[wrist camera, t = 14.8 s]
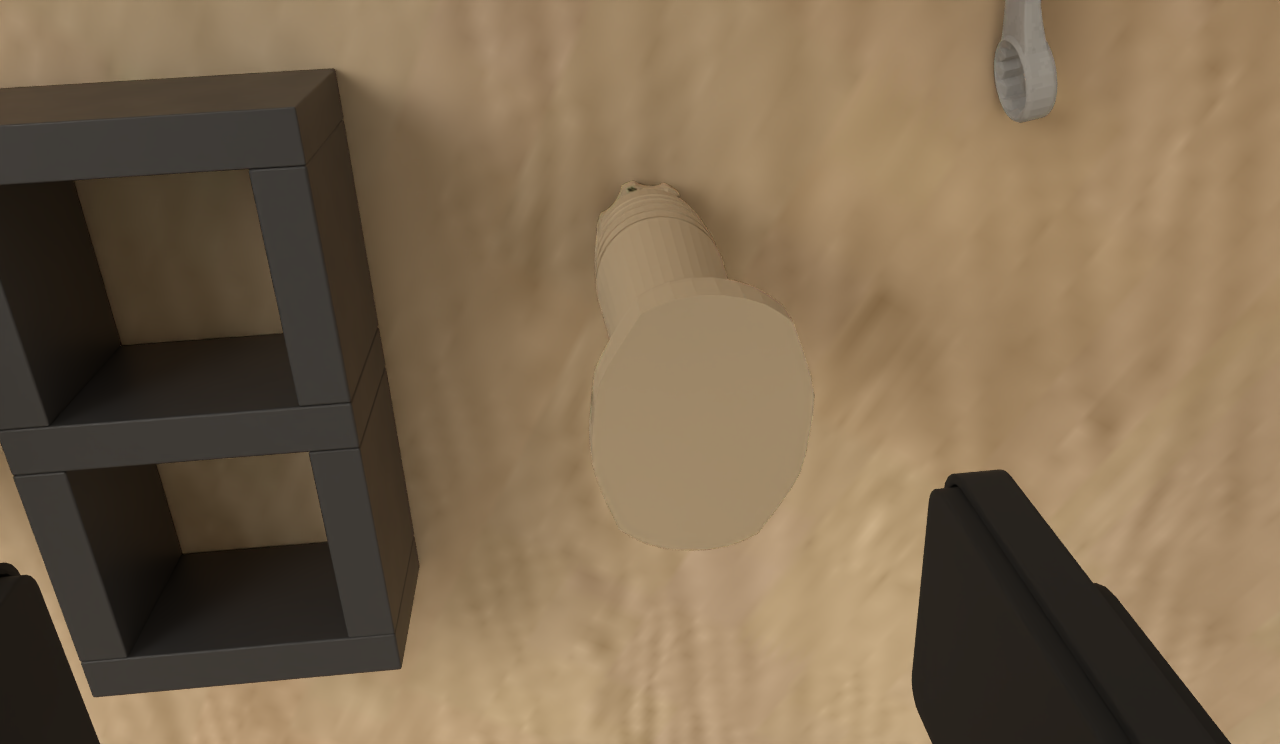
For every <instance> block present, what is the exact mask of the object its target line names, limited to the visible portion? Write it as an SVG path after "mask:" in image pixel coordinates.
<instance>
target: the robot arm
mask: <svg viewBox="0 0 1280 744" xmlns="http://www.w3.org/2000/svg"><path fill="white" fill-rule="evenodd" d="M912 690H913V696H914V700H915V704H916V708H917V710H918V713H919V715H920V717H921V720H922V722H923V724H924V726H925V728H926V731H927V733H928V735H929V737H930V740H931V742H932V744H1231V743H1230V742H1229V740H1228V739H1227V738H1226V737H1225V735H1224V734H1223V733H1222V731H1221V730H1220V729H1219V728H1218V726H1217V725H1216V724H1215V723H1214V721H1213V720H1212V719H1211V717H1210V716H1209V715H1208V714H1207V712H1206V711H1205V710H1204V709H1203V707H1202V706H1201V705H1200V703H1199V702H1198V701H1197V700H1196V698H1195V697H1194V696H1193V695H1192V693H1191V692H1190V691H1189V689H1188V688H1187V687H1186V686H1185V684H1184V683H1183V682H1182V680H1181V679H1180V678H1179V677H1178V675H1177V674H1176V673H1175V672H1174V670H1173V669H1172V668H1171V666H1170V665H1169V664H1168V663H1167V661H1166V660H1165V659H1164V658H1163V656H1162V655H1161V654H1160V652H1159V651H1158V650H1157V649H1156V647H1155V646H1154V645H1153V644H1152V642H1151V641H1150V640H1149V638H1148V637H1147V636H1146V635H1145V633H1144V632H1143V631H1142V630H1141V628H1140V627H1139V626H1138V624H1137V623H1136V622H1135V621H1134V619H1133V618H1132V617H1131V615H1130V614H1129V613H1128V612H1127V610H1126V609H1125V608H1124V607H1123V605H1122V604H1121V603H1120V601H1119V600H1118V599H1117V598H1116V596H1114V595H1113V594H1112V593H1111V592H1110V591H1109V590H1108V589H1107V588H1106V587H1105V586H1102V585H1100V584H1097V583H1093V582H1092V581H1091V580H1090V578H1089V577H1088V576H1087V575H1086V573H1085V572H1084V571H1083V569H1082V568H1081V567H1080V565H1079V564H1078V563H1077V562H1076V560H1075V559H1074V558H1073V556H1072V555H1071V554H1070V552H1069V551H1068V550H1067V549H1066V547H1065V546H1064V545H1063V543H1062V542H1061V541H1060V539H1059V538H1058V537H1057V536H1056V534H1055V533H1054V532H1053V530H1052V529H1051V528H1050V526H1049V525H1048V524H1047V522H1046V521H1045V520H1044V519H1043V517H1042V516H1041V515H1040V513H1039V512H1038V511H1037V509H1036V508H1035V507H1034V506H1033V504H1032V503H1031V502H1030V500H1029V499H1028V498H1027V496H1026V495H1025V494H1024V493H1023V491H1022V490H1021V489H1020V487H1019V486H1018V485H1017V483H1016V482H1015V481H1014V480H1013V478H1012V477H1011V476H1010V475H1009V474H1008V473H1007V472H1006V471H1004V470H990V471H979V472H968V473H958V474H951V475H950V476H949V477H948V478H947V480H946V482H945V487H944V488H941V489H934V490H933V491H932V492H931V495H930V498H929V505H928V516H927V526H926V536H925V546H924V556H923V567H922V577H921V587H920V597H919V608H918V618H917V628H916V638H915V648H914V659H913V669H912ZM0 744H100V743H99V740H98V737H97V735H96V732H95V730H94V727H93V725H92V722H91V719H90V717H89V714H88V712H87V709H86V707H85V704H84V701H83V699H82V696H81V694H80V691H79V689H78V686H77V683H76V681H75V678H74V676H73V673H72V671H71V668H70V665H69V663H68V660H67V658H66V655H65V653H64V650H63V647H62V645H61V642H60V640H59V637H58V635H57V632H56V629H55V627H54V624H53V622H52V619H51V617H50V614H49V611H48V609H47V606H46V604H45V601H44V599H43V596H42V593H41V591H40V588H39V586H38V584H37V582H36V580H35V579H33V578H32V577H31V576H28V575H20V573H19V572H18V570H17V569H16V568H15V567H14V566H13V565H12V564H8V563H0Z"/></svg>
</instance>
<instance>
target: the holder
mask: <svg viewBox="0 0 1280 744" xmlns="http://www.w3.org/2000/svg"><path fill="white" fill-rule="evenodd" d="M342 119H343V112H342V106H341V101H340V95H339V89H338V83H337V77H336V71H335V69H317V70H300V71H283V72H267V73H250V74H234V75H217V76H200V77H184V78H167V79H150V80H134V81H117V82H101V83H84V84H67V85H51V86H34V87H18V88H1V89H0V442H1V445H2V448H3V451H4V453H5V456H6V459H7V462H8V464H9V467H10V470H11V473H12V474H13V475H14V477H13V478H14V481H15V484H16V487H17V489H18V492H19V495H20V498H21V500H22V503H23V506H24V509H25V511H26V514H27V517H28V520H29V522H30V525H31V528H32V531H33V533H34V536H35V539H36V542H37V544H38V547H39V550H40V553H41V555H42V558H43V561H44V564H45V566H46V569H47V572H48V575H49V577H50V580H51V583H52V585H53V588H54V591H55V594H56V596H57V599H58V602H59V605H60V607H61V610H62V613H63V616H64V618H65V621H66V624H67V627H68V629H69V632H70V635H71V638H72V640H73V643H74V646H75V649H76V651H77V654H78V657H79V660H80V661H82V662H81V665H82V667H83V670H84V673H85V676H86V678H87V681H88V684H89V687H90V689H91V692H92V695H93V697H103V696H114V695H125V694H136V693H147V692H158V691H169V690H179V689H190V688H201V687H212V686H223V685H234V684H244V683H255V682H266V681H277V680H288V679H299V678H310V677H320V676H331V675H342V674H353V673H364V672H375V671H385V670H396V669H401V667H402V662H403V657H404V651H405V645H406V640H407V634H408V628H409V623H410V617H411V611H412V606H413V600H414V594H415V589H416V583H417V577H418V572H419V561H418V555H417V549H416V543H415V538H414V531H413V525H412V519H411V513H410V507H409V502H408V496H407V490H406V484H405V478H404V472H403V466H402V460H401V454H400V449H399V443H398V437H397V431H396V425H395V419H394V413H393V407H392V401H391V396H390V390H389V384H388V378H387V372H386V368H385V361H384V355H383V349H382V343H381V337H380V331H379V328H378V320H377V314H376V308H375V302H374V296H373V291H372V285H371V279H370V273H369V267H368V261H367V255H366V249H365V243H364V238H363V232H362V226H361V220H360V214H359V208H358V202H357V196H356V190H355V185H354V179H353V173H352V167H351V161H350V155H349V149H348V143H347V138H346V132H345V126H344V121H343V120H342ZM240 169H249V175H250V180H251V185H252V189H253V194H254V199H255V203H256V208H257V212H258V217H259V222H260V226H261V231H262V236H263V240H264V245H265V250H266V254H267V259H268V264H269V268H270V273H271V278H272V282H273V287H274V292H275V296H276V301H277V306H278V310H279V315H280V320H281V324H282V329H283V334H275V335H262V336H248V337H235V338H221V339H208V340H194V341H181V342H167V343H154V344H140V345H127V346H120V344H121V343H120V340H119V336H118V333H117V330H116V326H115V323H114V319H113V316H112V312H111V309H110V306H109V302H108V299H107V295H106V292H105V288H104V285H103V282H102V278H101V275H100V271H99V268H98V264H97V261H96V258H95V254H94V251H93V247H92V244H91V240H90V237H89V233H88V230H87V227H86V223H85V220H84V216H83V213H82V209H81V206H80V203H79V199H78V196H77V192H76V189H75V185H74V182H73V180H86V179H102V178H117V177H132V176H148V175H163V174H178V173H194V172H209V171H224V170H240ZM309 451H310V452H309ZM297 452H309V456H310V461H311V465H312V470H313V475H314V479H315V484H316V489H317V493H318V498H319V503H320V507H321V512H322V517H323V521H324V526H325V531H326V535H327V540H328V542H326V543H314V544H303V545H291V546H279V547H267V548H256V549H244V550H232V551H220V552H209V553H197V554H185V555H181V554H182V553H181V549H180V546H179V543H178V539H177V536H176V532H175V529H174V525H173V522H172V519H171V515H170V512H169V508H168V505H167V501H166V498H165V495H164V491H163V488H162V484H161V481H160V477H159V474H158V471H157V467H156V464H160V463H172V462H185V461H197V460H210V459H222V458H234V457H247V456H259V455H272V454H284V453H297Z"/></svg>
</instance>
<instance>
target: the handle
mask: <svg viewBox="0 0 1280 744" xmlns="http://www.w3.org/2000/svg"><path fill="white" fill-rule="evenodd" d="M596 234H597V239H596V245H595V280H596V290H597V297H598V301H599V304H600V308H601V311H602V315H603V318H604V322H605V325H606V329H607V332H608V335H609V341H608V343H607V345H606V347H605V349H604V351H603V353H602V355H601V357H600V359H599V361H598V363H597V365H596V368H595V373H594V377H593V385H592V395H591V408H590V424H589V440H590V450H591V458H592V466H593V469H594V473H595V476H596V480H597V483H598V485H599V488H600V490H601V492H602V494H603V497H604V499H605V501H606V504H607V506H608V508H609V510H610V512H611V514H612V516H613V518H614V520H615V522H616V524H617V526H618V529H619V530H621V531H622V532H624V533H625V534H627V535H628V536H630V537H632V538H634V539H636V540H638V541H640V542H643V543H645V544H647V545H652V546H656V547H660V548H664V549H673V550H683V551H694V550H711V549H716V548H722V547H728V546H730V545H733V544H736V543H739V542H742V541H744V540H746V539H748V538H750V537H752V536H754V535H756V534H758V533H759V532H760V530H761V529H762V528H763V526H764V525H765V524H766V522H767V521H768V520H769V519H770V517H771V516H772V515H773V513H774V512H775V511H776V509H777V508H778V507H779V505H780V504H781V503H782V501H783V500H784V498H785V497H786V496H787V494H788V493H789V492H790V490H791V488H792V487H793V485H794V483H795V481H796V479H797V478H798V476H799V474H800V472H801V468H802V465H803V462H804V459H805V455H806V451H807V445H808V440H809V435H810V429H811V424H812V419H813V410H814V396H815V395H814V389H813V383H812V377H811V373H810V370H809V367H808V364H807V361H806V357H805V354H804V351H803V348H802V345H801V342H800V339H799V337H798V334H797V331H796V328H795V325H794V322H793V321H792V319H791V317H790V315H789V313H788V312H787V310H786V308H785V307H784V306H783V305H782V304H781V303H780V302H778V301H777V300H776V299H774V298H773V297H772V296H771V295H769V294H767V293H765V292H764V291H762V290H760V289H758V288H757V287H755V286H752V285H748V284H745V283H742V282H739V281H735V280H729V279H728V278H727V274H726V271H725V267H724V263H723V260H722V257H721V255H720V253H719V250H718V248H717V246H716V244H715V242H714V240H713V238H712V236H711V234H710V232H709V230H708V229H707V227H706V226H705V224H704V223H703V222H702V220H701V219H700V217H699V216H698V215H697V213H696V212H695V211H694V210H693V209H692V208H691V207H690V206H689V205H688V204H687V203H686V202H684V201H683V200H682V199H680V194H679V193H678V191H677V190H676V189H674V188H673V187H671V186H670V185H668V184H666V183H661V184H660V185H655V186H647V185H641V184H639V183H637V182H636V181H630V182H627V183H625V184H623V185H622V186H621V191H620V193H619V195H618V197H617V199H616V200H615V202H614V203H613V204H612V205H611V207H609V208H608V209H607V210H606V211H603V212H601V214H600V216H599V218H598V223H597V229H596Z"/></svg>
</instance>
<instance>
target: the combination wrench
mask: <svg viewBox="0 0 1280 744" xmlns="http://www.w3.org/2000/svg"><path fill="white" fill-rule="evenodd" d="M994 75H995V83H996V89H997V93H998V96H999V100H1000V102H1001V105H1002V107H1003V109H1004V111H1005V112H1006V114H1007V115H1008V116H1009V117H1010V118H1011V119H1012V120H1013V121H1016V122H1019V123H1022V122H1026V121H1030V120H1034V119H1038V118H1042V117H1045V116H1046V115H1047V114H1049V112H1050V111H1051V110H1052V108H1053V106H1054V104H1055V100H1056V95H1057V72H1056V66H1055V61H1054V58H1053V54H1052V51H1051V49H1050V47H1049V45H1048V43H1047V41H1046V39H1045V32H1044V26H1043V20H1042V12H1041V0H1005V10H1004V20H1003V31H1002V38H1001V41H1000V42H999V44H998V46H997V49H996V52H995V59H994ZM1024 75H1025V76H1024Z"/></svg>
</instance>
